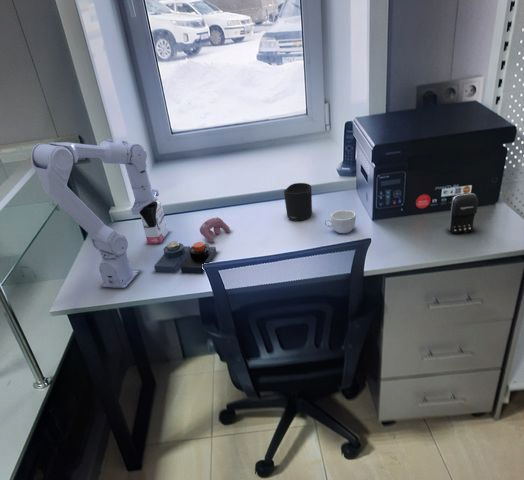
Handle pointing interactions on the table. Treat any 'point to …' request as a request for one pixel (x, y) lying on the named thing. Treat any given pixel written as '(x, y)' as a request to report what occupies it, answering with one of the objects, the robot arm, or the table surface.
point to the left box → (172, 259)
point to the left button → (173, 246)
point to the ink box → (156, 227)
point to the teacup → (342, 221)
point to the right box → (198, 260)
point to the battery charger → (463, 213)
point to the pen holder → (298, 201)
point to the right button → (198, 246)
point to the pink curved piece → (215, 224)
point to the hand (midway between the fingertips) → (152, 226)
